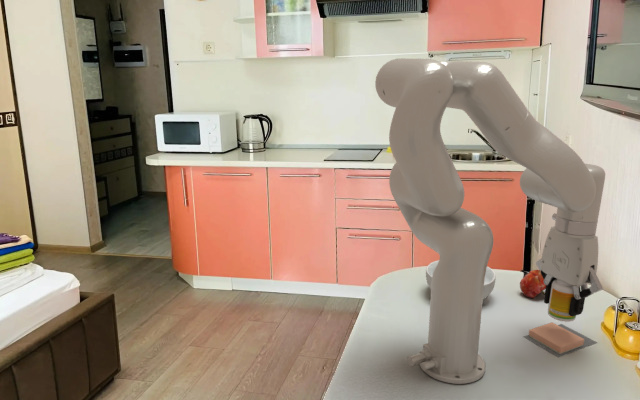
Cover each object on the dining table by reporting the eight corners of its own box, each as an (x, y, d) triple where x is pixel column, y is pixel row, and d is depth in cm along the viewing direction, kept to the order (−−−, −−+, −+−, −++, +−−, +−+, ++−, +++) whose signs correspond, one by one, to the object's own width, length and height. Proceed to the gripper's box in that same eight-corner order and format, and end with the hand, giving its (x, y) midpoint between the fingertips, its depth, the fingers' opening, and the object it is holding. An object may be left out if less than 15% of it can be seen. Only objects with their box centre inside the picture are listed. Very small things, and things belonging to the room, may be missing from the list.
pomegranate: (549, 302, 135) (522, 271, 139) (568, 288, 130) (539, 256, 134) (533, 314, 131) (506, 281, 135) (552, 299, 126) (523, 266, 130)
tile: (583, 345, 110) (560, 354, 107) (551, 328, 117) (528, 336, 114) (584, 339, 110) (560, 347, 107) (552, 322, 117) (529, 329, 114)
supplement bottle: (578, 323, 108) (585, 279, 106) (550, 320, 109) (557, 276, 107) (571, 312, 113) (578, 269, 111) (545, 309, 114) (551, 267, 112)
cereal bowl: (411, 289, 138) (413, 263, 136) (464, 278, 144) (465, 254, 142) (452, 318, 123) (454, 290, 121) (508, 305, 129) (511, 278, 127)
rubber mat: (557, 359, 106) (558, 357, 106) (522, 338, 114) (522, 336, 114) (597, 344, 112) (597, 342, 111) (561, 325, 119) (561, 323, 119)
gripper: (528, 216, 112) (517, 295, 116) (602, 241, 97) (586, 330, 102) (552, 212, 115) (541, 289, 120) (628, 236, 100) (611, 322, 105)
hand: (562, 307), depth 111 cm, fingers closed on supplement bottle, 5 cm apart
